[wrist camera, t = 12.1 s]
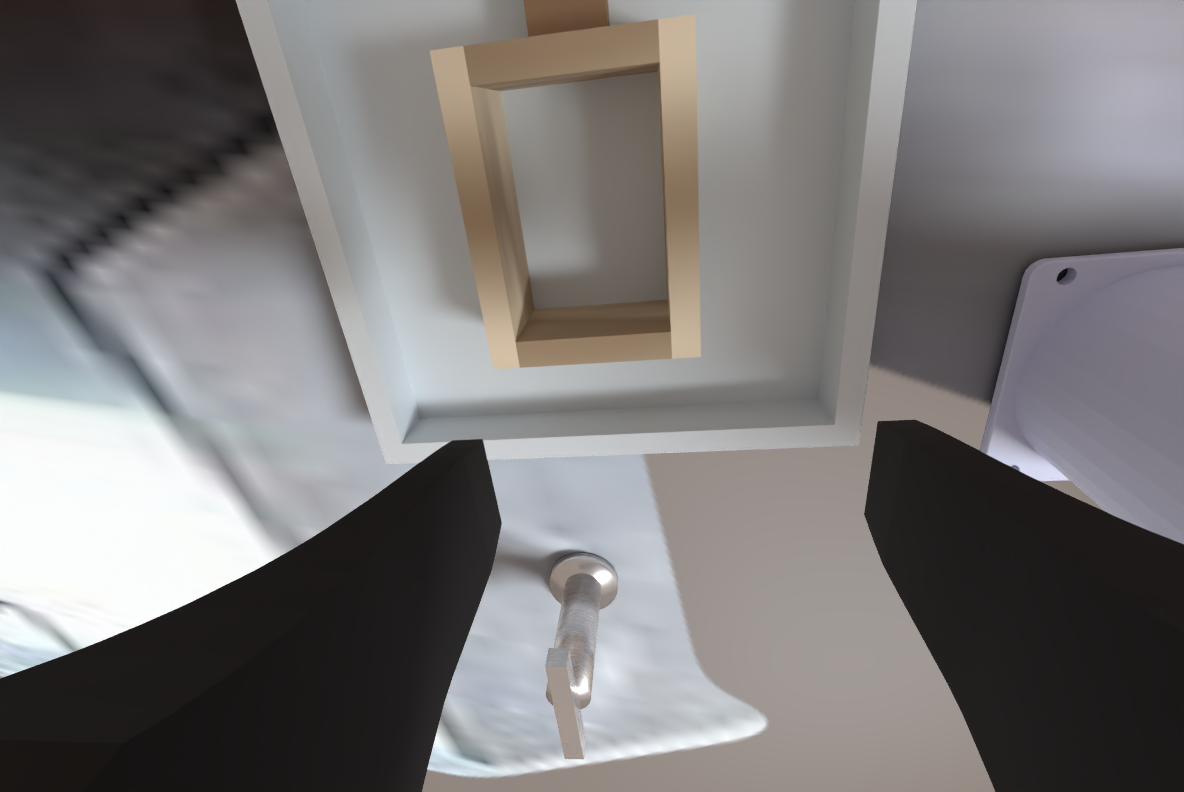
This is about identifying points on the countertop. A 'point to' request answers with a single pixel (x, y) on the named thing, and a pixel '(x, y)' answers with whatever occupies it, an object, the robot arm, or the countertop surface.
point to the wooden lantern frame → (489, 200)
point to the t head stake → (576, 641)
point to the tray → (601, 220)
